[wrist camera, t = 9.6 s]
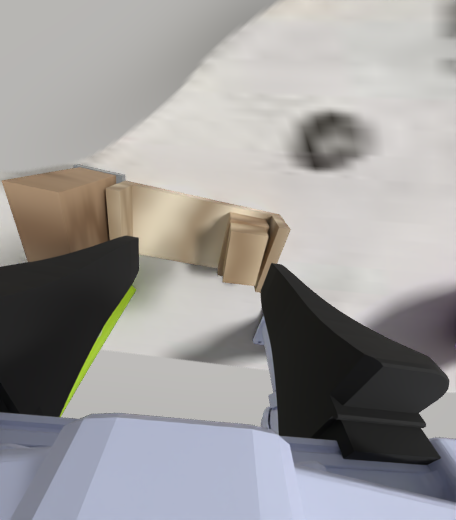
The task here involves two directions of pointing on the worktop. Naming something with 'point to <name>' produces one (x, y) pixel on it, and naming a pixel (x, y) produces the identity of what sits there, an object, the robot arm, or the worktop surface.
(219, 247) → the tan wooden stepped block
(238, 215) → the offcut lower
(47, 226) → the tall offcut
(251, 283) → the offcut upper
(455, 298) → the worktop surface
